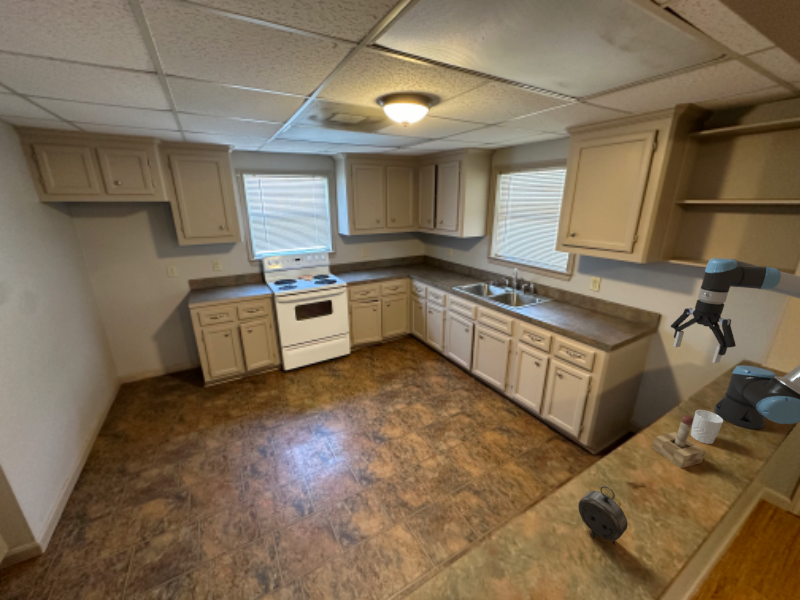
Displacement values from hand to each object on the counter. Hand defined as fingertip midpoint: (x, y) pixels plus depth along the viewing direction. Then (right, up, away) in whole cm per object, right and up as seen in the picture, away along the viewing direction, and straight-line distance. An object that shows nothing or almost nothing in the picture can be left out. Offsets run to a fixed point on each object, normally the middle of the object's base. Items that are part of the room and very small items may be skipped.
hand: (695, 354), depth 127 cm
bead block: (-14, -35, -8) cm, 39 cm away
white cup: (+3, -33, +1) cm, 33 cm away
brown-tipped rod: (-14, -35, -8) cm, 39 cm away
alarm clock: (-59, -44, -36) cm, 82 cm away
